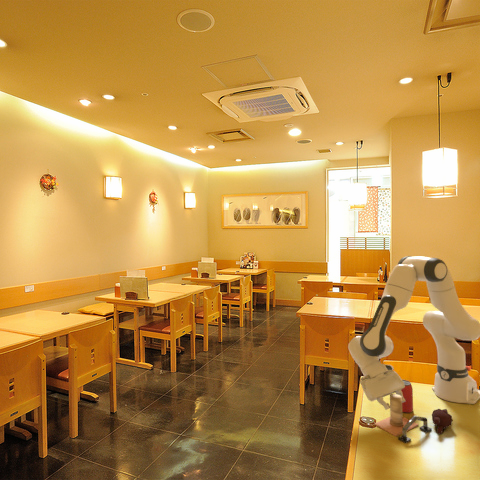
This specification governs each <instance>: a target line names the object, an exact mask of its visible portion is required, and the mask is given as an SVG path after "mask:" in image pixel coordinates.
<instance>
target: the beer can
mask: <svg viewBox="0 0 480 480" xmlns="http://www.w3.org/2000/svg"><path fill="white" fill-rule="evenodd" d="M402 381H403V382H404V384H405V388H403V389H402V390H401V391H402V394H403V398H404V399H405V402H404V403H402V413H405V414H410V413H412V412H413V411H414V396H413V395H414V394H413V393H414V391H413V386H412V382H411V381H409V380H406V379H402Z"/></svg>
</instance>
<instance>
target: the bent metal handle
mask: <svg viewBox="0 0 480 480" xmlns="http://www.w3.org/2000/svg"><path fill="white" fill-rule="evenodd" d="M416 421H418V422H419V421H420V422H422V423H423V424H422V425H421V426H419V430H421V431H422V432H425V434H427V433H429V432H432V428H431V427H429V426H428V418H427V417H424V416H418V415H413V416H411V418H410V419H409V421H408V423H407V424H406V425H405V426H404V427H403V429H402V434H401V435H399V436H397V437H398V440H399V441H400V442H402V443H404V444H408V443H409V442H411V441H412V439H411V438H410V437H408V436H407V435H408V434H407V432H408V431H407V429H408V428H409V427H410V426H411V425H412V424H413V423H414V422H415V423H416Z"/></svg>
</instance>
